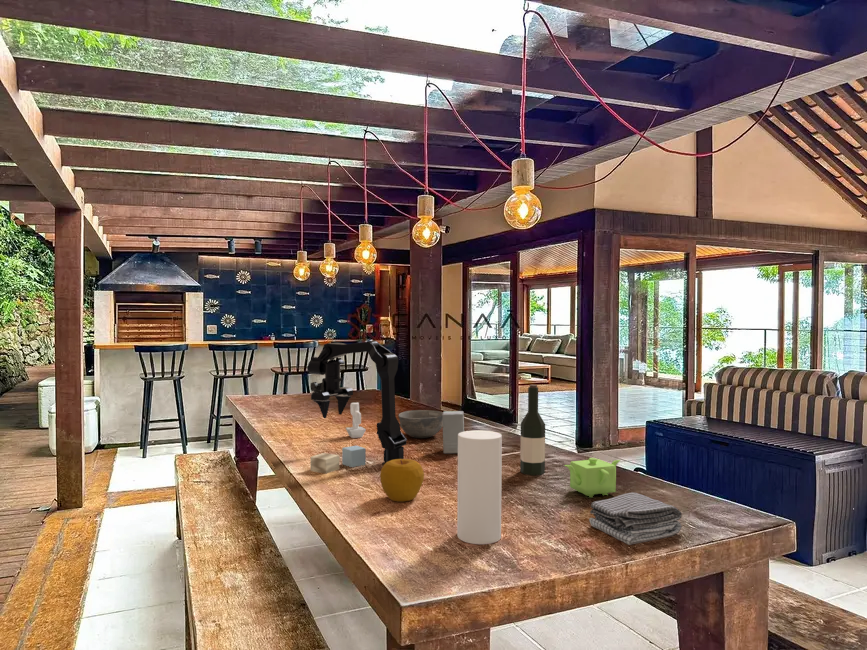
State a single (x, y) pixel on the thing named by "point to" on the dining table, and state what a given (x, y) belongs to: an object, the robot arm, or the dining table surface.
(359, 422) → the figurine
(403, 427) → the bowl
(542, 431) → the wine bottle
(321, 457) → the birch block
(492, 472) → the tall pillar cylinder
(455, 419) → the skincare box
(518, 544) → the dining table surface
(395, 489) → the apple
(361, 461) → the blue cube
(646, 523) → the towel
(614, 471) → the teapot
